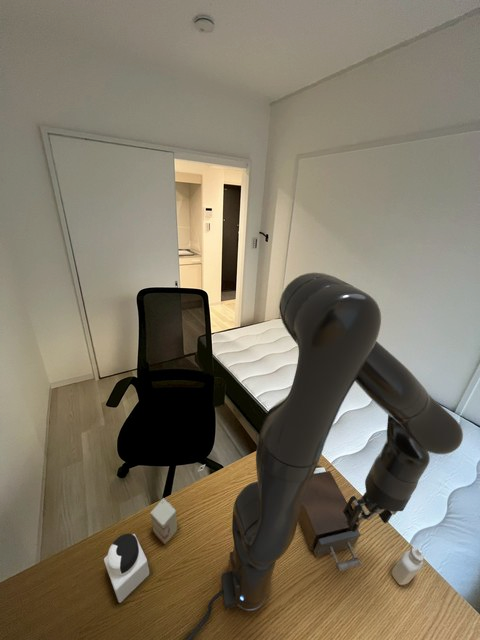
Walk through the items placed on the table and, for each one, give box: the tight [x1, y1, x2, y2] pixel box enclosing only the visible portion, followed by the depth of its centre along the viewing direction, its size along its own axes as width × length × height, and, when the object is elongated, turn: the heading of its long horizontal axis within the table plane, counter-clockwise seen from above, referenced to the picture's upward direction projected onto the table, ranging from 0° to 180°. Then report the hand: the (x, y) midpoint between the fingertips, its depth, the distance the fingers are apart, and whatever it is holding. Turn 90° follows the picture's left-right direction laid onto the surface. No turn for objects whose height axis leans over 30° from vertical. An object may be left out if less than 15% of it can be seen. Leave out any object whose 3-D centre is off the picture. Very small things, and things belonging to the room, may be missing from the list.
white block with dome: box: [103, 533, 150, 604], centre depth 56 cm, size 7×7×12 cm
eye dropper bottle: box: [391, 547, 424, 586], centre depth 59 cm, size 4×6×12 cm
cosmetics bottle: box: [150, 497, 178, 546], centre depth 64 cm, size 5×4×10 cm
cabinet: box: [298, 470, 352, 552], centre depth 71 cm, size 15×13×8 cm
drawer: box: [313, 528, 362, 572], centre depth 67 cm, size 18×11×6 cm, turn 12°
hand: (367, 522), depth 56 cm, fingers open, 8 cm apart
